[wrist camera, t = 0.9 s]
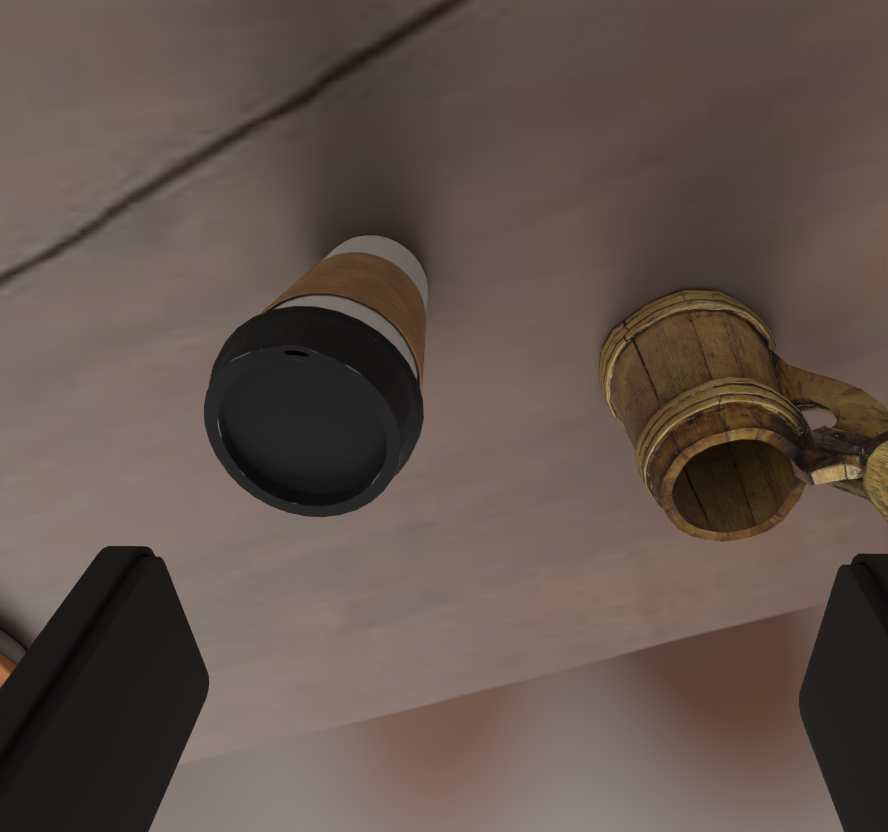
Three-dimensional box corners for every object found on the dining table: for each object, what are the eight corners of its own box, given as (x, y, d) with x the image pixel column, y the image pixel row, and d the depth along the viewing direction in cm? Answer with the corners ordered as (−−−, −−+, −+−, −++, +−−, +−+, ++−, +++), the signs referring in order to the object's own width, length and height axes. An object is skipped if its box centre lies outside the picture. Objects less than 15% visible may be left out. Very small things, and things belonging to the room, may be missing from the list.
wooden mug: (868, 381, 38) (1101, 649, 23) (624, 451, 42) (682, 719, 27) (846, 231, 34) (1110, 435, 19) (577, 324, 38) (615, 555, 22)
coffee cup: (458, 219, 35) (422, 352, 23) (444, 365, 40) (408, 544, 27) (296, 201, 36) (170, 322, 23) (300, 348, 40) (198, 517, 27)
